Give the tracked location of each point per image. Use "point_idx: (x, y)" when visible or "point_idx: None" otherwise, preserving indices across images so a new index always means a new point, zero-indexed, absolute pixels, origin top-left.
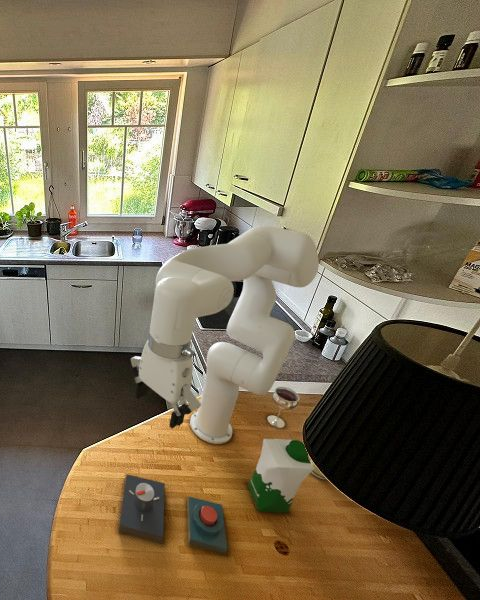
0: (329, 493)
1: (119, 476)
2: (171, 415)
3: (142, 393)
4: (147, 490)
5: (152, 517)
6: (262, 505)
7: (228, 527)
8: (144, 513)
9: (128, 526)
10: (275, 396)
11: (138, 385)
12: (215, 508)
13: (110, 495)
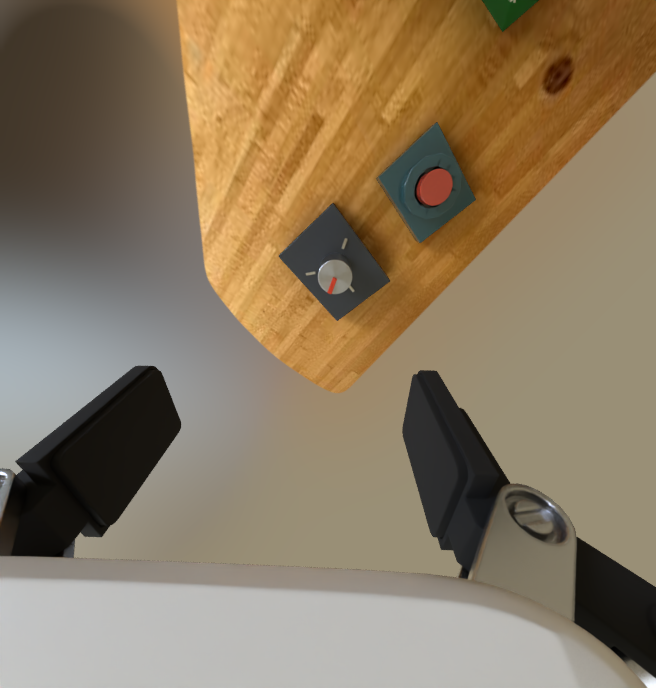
0: None
1: (269, 255)
2: (426, 511)
3: (157, 420)
4: (336, 271)
5: (360, 273)
6: (519, 13)
7: (457, 147)
8: None
9: (346, 312)
10: None
11: (103, 533)
12: (436, 155)
13: (289, 290)
